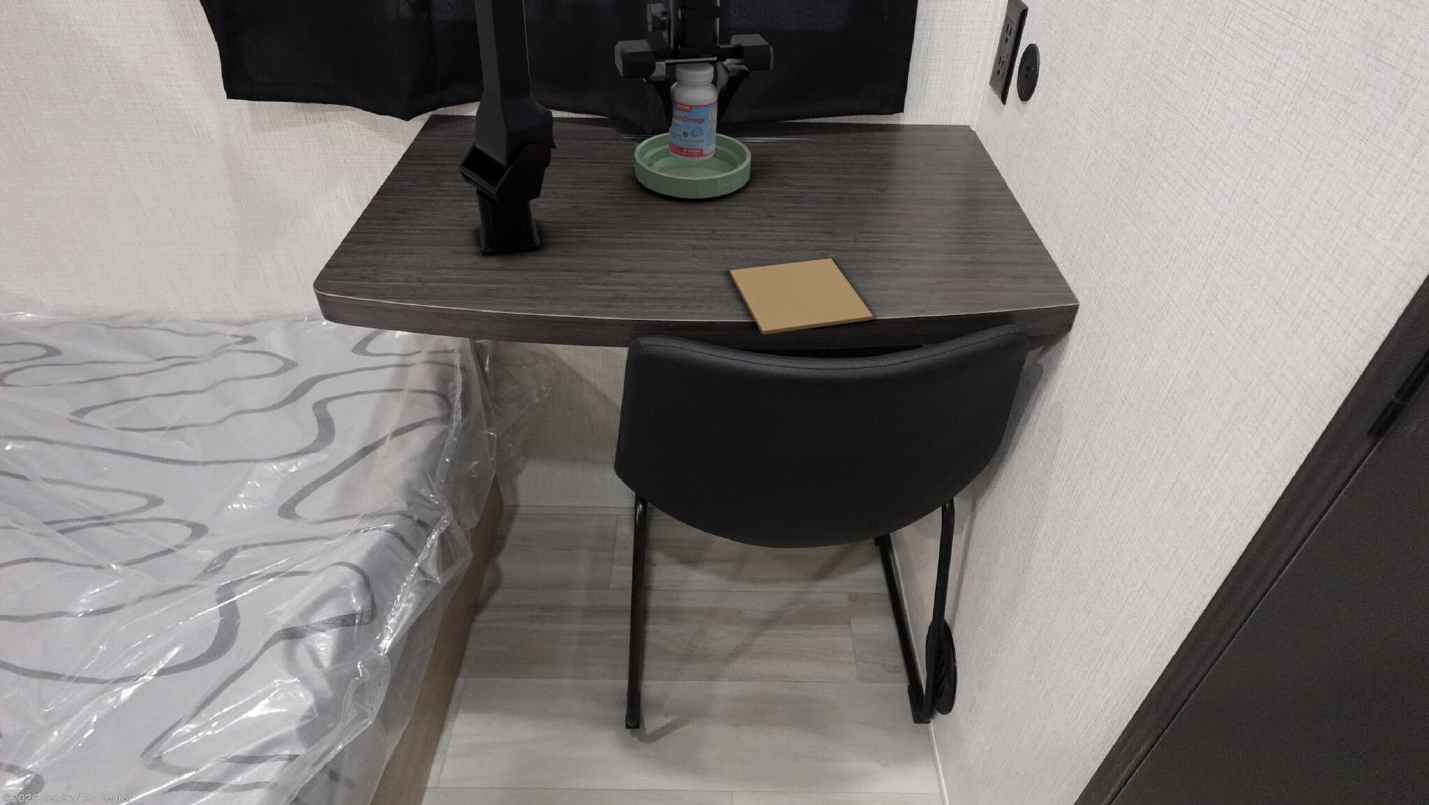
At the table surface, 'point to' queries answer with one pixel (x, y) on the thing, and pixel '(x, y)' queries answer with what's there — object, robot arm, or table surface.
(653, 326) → the table surface
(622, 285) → the table surface
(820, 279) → the cork mat
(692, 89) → the pill bottle
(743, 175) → the dish
